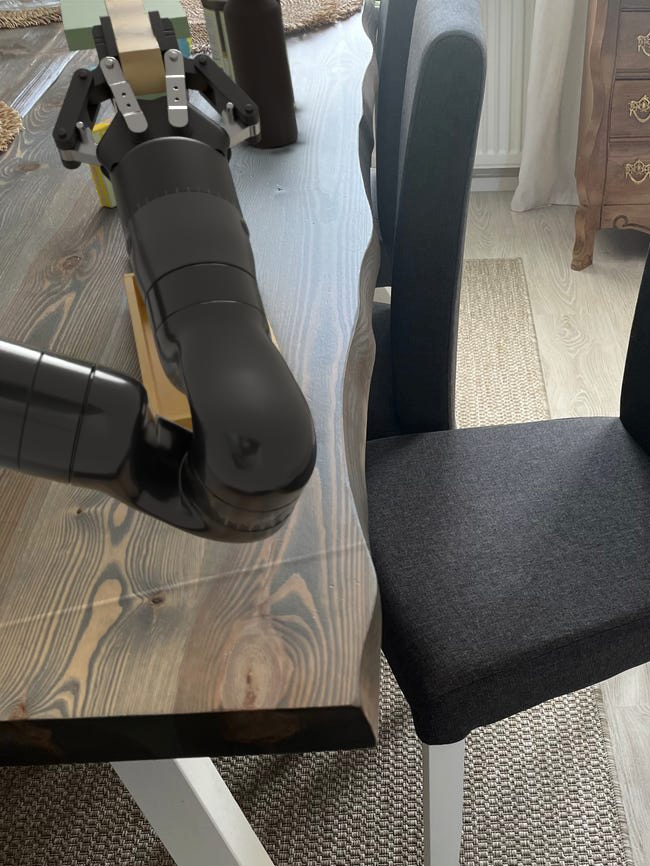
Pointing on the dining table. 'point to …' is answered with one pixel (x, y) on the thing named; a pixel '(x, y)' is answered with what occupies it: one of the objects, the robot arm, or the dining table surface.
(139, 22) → the birch bar
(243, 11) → the bottle
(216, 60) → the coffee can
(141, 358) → the tray
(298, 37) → the dining table surface
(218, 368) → the robot arm
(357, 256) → the dining table surface
